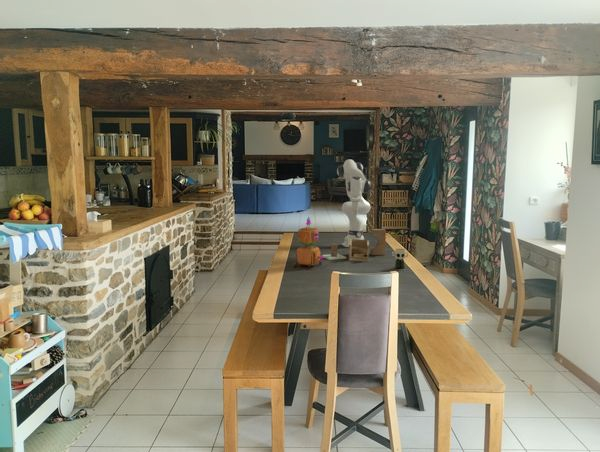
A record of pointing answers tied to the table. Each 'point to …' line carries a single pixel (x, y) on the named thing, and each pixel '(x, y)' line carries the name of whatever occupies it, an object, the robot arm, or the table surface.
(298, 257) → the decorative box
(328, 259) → the sage board
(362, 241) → the oak cubby
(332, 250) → the walnut block
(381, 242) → the decorative block
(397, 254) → the character mug
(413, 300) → the table surface
